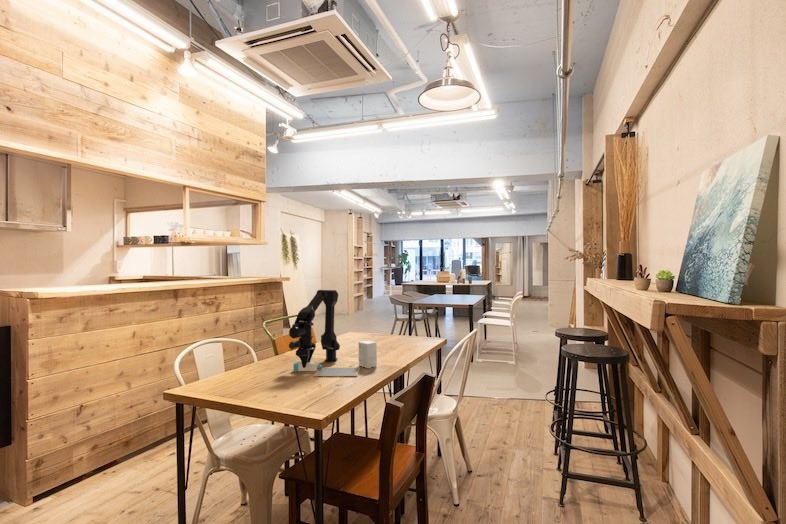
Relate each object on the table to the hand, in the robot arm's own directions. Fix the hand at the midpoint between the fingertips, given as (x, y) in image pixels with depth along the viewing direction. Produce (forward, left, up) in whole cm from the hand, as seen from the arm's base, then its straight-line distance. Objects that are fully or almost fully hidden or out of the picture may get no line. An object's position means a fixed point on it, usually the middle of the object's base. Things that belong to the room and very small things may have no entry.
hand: (306, 365), depth 218 cm
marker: (0, 0, -3) cm, 3 cm away
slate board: (+4, +17, -3) cm, 18 cm away
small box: (-8, +31, -3) cm, 32 cm away
